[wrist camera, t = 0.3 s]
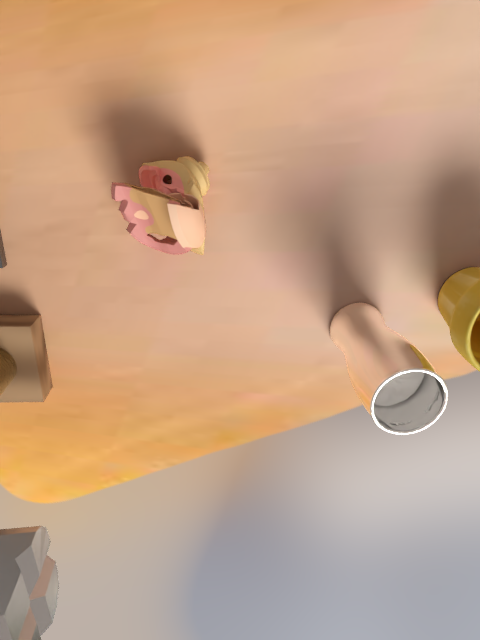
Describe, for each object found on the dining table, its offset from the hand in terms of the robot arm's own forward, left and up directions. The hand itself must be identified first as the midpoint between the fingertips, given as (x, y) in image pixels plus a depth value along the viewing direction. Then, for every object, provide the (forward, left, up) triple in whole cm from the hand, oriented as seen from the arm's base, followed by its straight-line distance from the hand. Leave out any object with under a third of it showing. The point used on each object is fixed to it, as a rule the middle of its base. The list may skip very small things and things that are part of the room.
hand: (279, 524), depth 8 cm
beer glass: (+14, +15, -40) cm, 45 cm away
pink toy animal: (+1, -5, -40) cm, 40 cm away
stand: (+17, -24, -39) cm, 49 cm away
